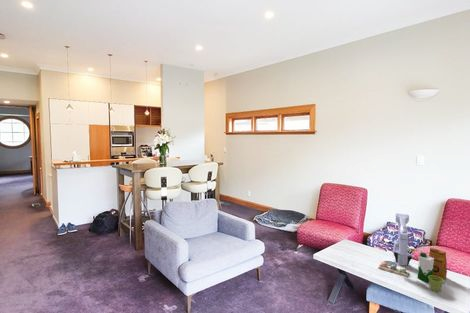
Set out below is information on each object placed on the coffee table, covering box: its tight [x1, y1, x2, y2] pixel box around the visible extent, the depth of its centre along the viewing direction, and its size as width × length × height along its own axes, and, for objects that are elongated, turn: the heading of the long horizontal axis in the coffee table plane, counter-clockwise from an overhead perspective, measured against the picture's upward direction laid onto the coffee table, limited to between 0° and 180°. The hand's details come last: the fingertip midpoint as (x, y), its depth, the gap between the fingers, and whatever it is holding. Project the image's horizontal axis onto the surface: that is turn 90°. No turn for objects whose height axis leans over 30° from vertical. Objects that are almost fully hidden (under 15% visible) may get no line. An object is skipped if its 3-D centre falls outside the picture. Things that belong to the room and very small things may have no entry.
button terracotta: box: [380, 261, 388, 268], centre depth 231 cm, size 4×4×3 cm
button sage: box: [399, 266, 407, 274], centre depth 222 cm, size 4×4×3 cm
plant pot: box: [428, 275, 445, 293], centre depth 199 cm, size 9×9×9 cm
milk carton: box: [417, 252, 434, 283], centre depth 213 cm, size 9×9×20 cm
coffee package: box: [428, 247, 448, 281], centre depth 219 cm, size 10×12×22 cm
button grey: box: [390, 264, 397, 271], centre depth 227 cm, size 4×4×3 cm
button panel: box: [377, 263, 410, 278], centre depth 227 cm, size 21×8×2 cm, turn 50°
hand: (402, 263), depth 221 cm, fingers open, 7 cm apart
